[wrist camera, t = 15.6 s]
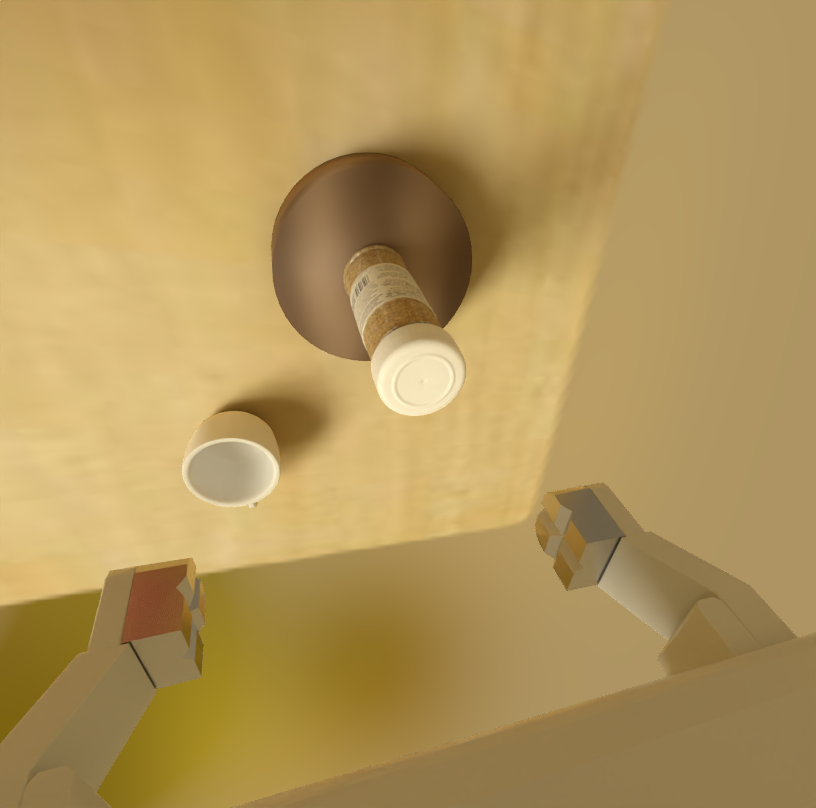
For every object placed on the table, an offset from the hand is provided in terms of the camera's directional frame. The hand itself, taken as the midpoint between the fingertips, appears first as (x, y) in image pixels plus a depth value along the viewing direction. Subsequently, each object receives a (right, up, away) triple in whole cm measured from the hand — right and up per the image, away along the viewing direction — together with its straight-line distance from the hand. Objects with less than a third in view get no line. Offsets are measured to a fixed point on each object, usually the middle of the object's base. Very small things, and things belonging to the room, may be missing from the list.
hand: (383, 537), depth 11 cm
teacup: (-15, 0, +34) cm, 37 cm away
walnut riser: (-3, +14, +26) cm, 30 cm away
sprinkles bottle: (-2, +12, +23) cm, 26 cm away
